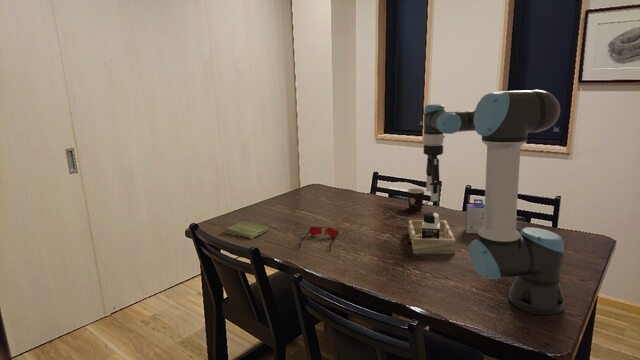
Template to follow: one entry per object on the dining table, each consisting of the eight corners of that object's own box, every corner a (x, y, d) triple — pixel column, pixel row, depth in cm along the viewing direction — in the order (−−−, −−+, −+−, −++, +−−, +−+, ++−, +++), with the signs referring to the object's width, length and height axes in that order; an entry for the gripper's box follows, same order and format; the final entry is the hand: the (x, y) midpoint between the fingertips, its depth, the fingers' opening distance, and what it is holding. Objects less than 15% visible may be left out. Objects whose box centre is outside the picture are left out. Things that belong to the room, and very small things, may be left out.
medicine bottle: (421, 243, 175) (422, 216, 172) (421, 236, 182) (422, 210, 179) (439, 244, 173) (440, 216, 170) (439, 237, 180) (440, 211, 177)
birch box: (454, 254, 166) (455, 240, 165) (413, 253, 168) (413, 239, 167) (445, 232, 187) (445, 220, 186) (408, 232, 189) (408, 220, 188)
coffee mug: (403, 208, 222) (403, 189, 219) (417, 205, 225) (417, 187, 222) (417, 214, 211) (417, 195, 209) (431, 211, 215) (431, 192, 212)
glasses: (339, 237, 188) (339, 227, 186) (330, 253, 172) (329, 242, 171) (309, 235, 191) (309, 225, 190) (297, 250, 176) (297, 239, 175)
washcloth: (252, 241, 187) (251, 234, 187) (223, 234, 197) (222, 227, 196) (271, 231, 198) (270, 224, 197) (242, 225, 207) (242, 219, 207)
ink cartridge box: (487, 229, 189) (489, 198, 185) (490, 234, 184) (492, 202, 180) (464, 228, 191) (466, 198, 187) (466, 233, 186) (467, 202, 182)
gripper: (448, 149, 154) (446, 205, 160) (438, 139, 178) (436, 187, 184) (427, 150, 155) (426, 205, 161) (420, 139, 179) (419, 187, 185)
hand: (432, 195), depth 172 cm, fingers open, 13 cm apart
